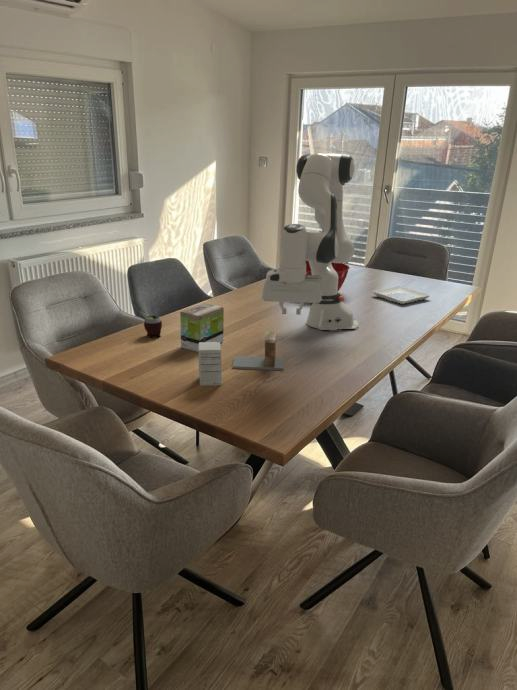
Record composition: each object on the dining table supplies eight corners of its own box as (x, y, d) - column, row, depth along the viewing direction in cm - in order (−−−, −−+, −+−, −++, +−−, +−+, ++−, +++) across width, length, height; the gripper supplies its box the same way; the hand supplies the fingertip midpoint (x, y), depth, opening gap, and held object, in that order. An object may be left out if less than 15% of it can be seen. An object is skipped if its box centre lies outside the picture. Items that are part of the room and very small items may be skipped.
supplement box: (199, 376, 179) (198, 341, 174) (221, 376, 180) (221, 341, 175) (199, 386, 172) (198, 350, 168) (222, 385, 173) (221, 349, 168)
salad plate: (430, 300, 270) (431, 294, 268) (402, 307, 258) (403, 300, 257) (398, 291, 286) (399, 285, 285) (370, 297, 274) (371, 290, 273)
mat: (284, 359, 194) (284, 357, 194) (283, 370, 185) (283, 368, 184) (235, 357, 195) (235, 355, 195) (232, 368, 186) (232, 366, 185)
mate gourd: (141, 337, 214) (139, 301, 208) (152, 331, 220) (150, 296, 215) (157, 340, 211) (155, 304, 206) (167, 334, 218) (166, 298, 212)
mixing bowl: (356, 292, 281) (358, 263, 276) (333, 305, 259) (335, 274, 253) (308, 284, 295) (309, 257, 290) (283, 296, 273) (283, 266, 267)
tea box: (201, 353, 199) (200, 315, 193) (180, 348, 204) (178, 311, 198) (224, 341, 211) (224, 306, 205) (204, 336, 216) (203, 301, 210)
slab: (275, 358, 193) (276, 332, 189) (274, 366, 186) (275, 339, 182) (265, 357, 193) (266, 331, 190) (264, 366, 186) (264, 339, 182)
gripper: (323, 273, 180) (321, 312, 185) (263, 271, 181) (262, 310, 186) (324, 277, 174) (322, 317, 179) (262, 275, 175) (261, 315, 180)
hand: (291, 313), depth 182 cm, fingers open, 3 cm apart
